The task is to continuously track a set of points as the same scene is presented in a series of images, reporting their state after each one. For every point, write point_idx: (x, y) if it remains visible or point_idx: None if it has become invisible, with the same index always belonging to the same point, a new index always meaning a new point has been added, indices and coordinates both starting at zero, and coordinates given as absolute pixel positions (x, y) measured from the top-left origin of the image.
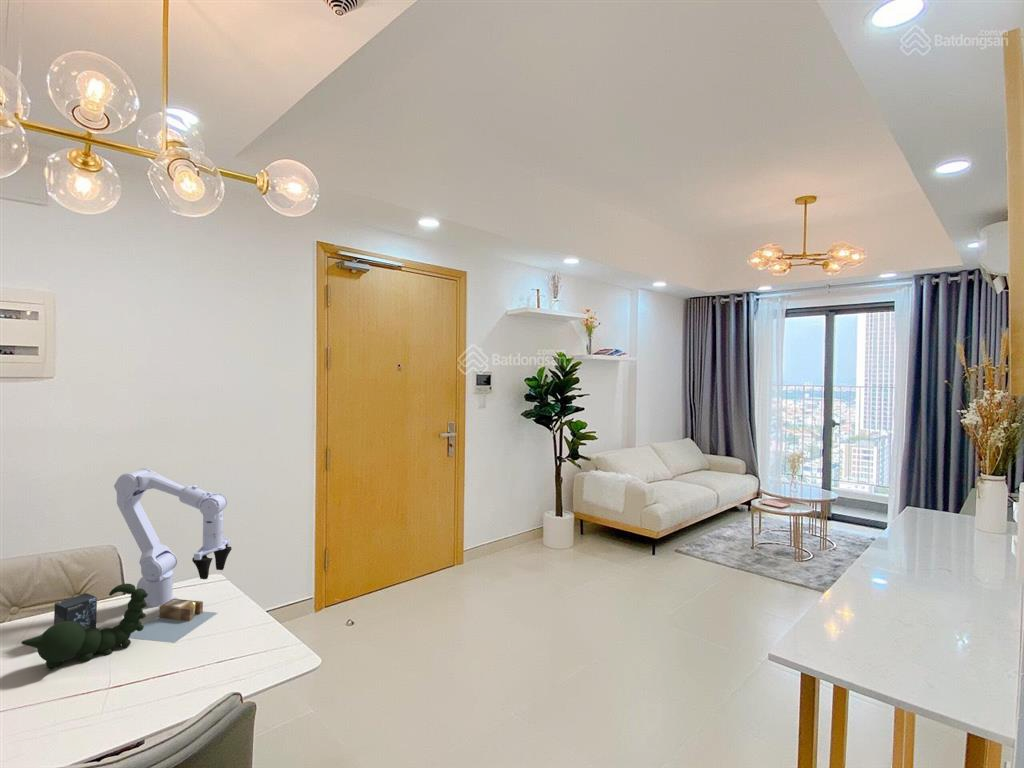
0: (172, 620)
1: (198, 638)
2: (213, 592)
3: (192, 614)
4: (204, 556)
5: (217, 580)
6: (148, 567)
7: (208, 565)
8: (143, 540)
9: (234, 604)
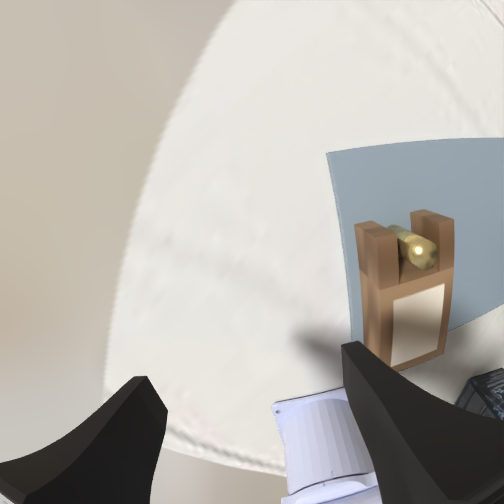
0: None
1: (464, 94)
2: (167, 356)
3: (423, 215)
4: None
5: None
6: None
7: (436, 421)
8: None
9: (202, 177)
